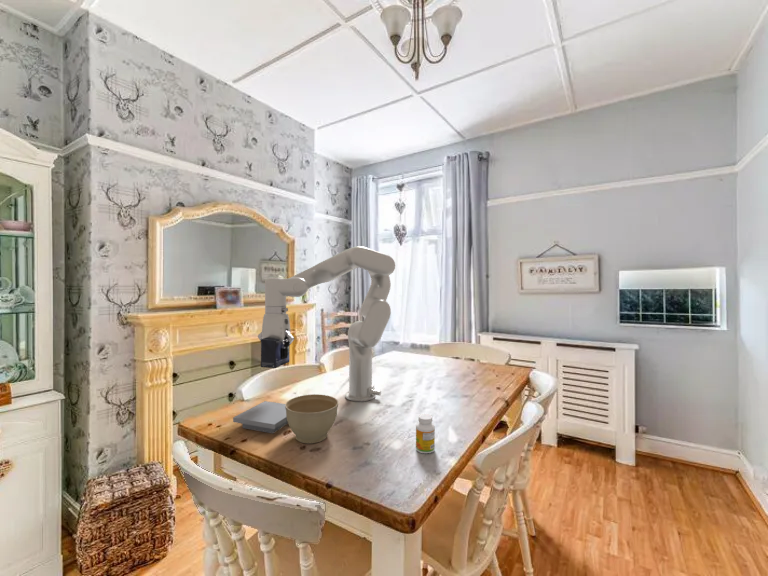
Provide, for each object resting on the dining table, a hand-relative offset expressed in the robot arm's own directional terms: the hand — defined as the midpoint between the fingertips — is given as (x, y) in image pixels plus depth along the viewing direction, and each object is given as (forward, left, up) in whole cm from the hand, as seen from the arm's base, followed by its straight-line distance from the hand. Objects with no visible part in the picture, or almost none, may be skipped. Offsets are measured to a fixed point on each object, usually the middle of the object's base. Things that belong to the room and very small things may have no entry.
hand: (275, 357), depth 130 cm
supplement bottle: (-60, +12, -20) cm, 64 cm away
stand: (-6, +12, -20) cm, 24 cm away
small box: (0, 0, -3) cm, 3 cm away
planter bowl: (-25, +16, -20) cm, 36 cm away
